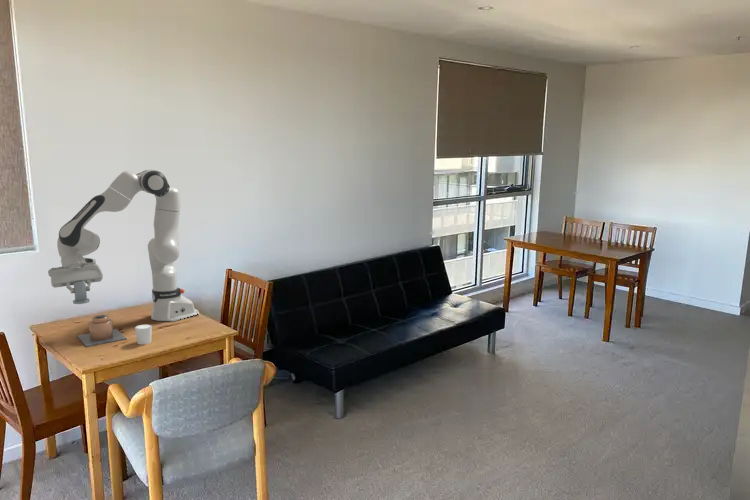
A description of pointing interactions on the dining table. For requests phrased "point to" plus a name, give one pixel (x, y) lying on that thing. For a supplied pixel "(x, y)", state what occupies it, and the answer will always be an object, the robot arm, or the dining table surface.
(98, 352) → the dining table surface
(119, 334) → the jar
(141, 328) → the white cup
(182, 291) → the robot arm
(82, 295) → the stopper
